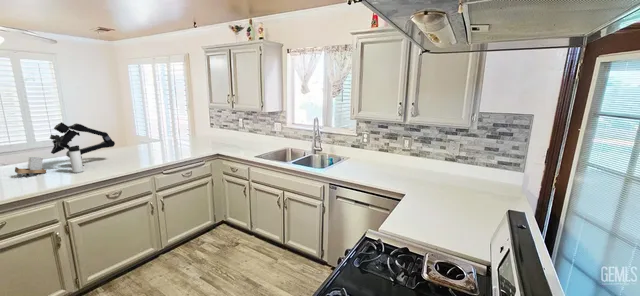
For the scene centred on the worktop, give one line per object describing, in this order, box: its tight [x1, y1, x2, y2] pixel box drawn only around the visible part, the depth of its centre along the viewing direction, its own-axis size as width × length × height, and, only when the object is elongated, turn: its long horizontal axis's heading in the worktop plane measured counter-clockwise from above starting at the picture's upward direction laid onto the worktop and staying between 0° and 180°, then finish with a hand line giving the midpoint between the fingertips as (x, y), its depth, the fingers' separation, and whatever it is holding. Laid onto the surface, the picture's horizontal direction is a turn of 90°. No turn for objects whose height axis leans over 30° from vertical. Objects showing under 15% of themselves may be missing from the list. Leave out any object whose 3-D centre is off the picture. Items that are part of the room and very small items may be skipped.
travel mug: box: [67, 145, 84, 174], centre depth 208 cm, size 6×7×20 cm
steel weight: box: [27, 156, 43, 170], centre depth 204 cm, size 6×6×9 cm
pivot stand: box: [16, 173, 44, 179], centre depth 203 cm, size 14×11×2 cm
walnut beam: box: [14, 167, 47, 174], centre depth 202 cm, size 14×8×4 cm, turn 147°
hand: (52, 153), depth 211 cm, fingers open, 2 cm apart
